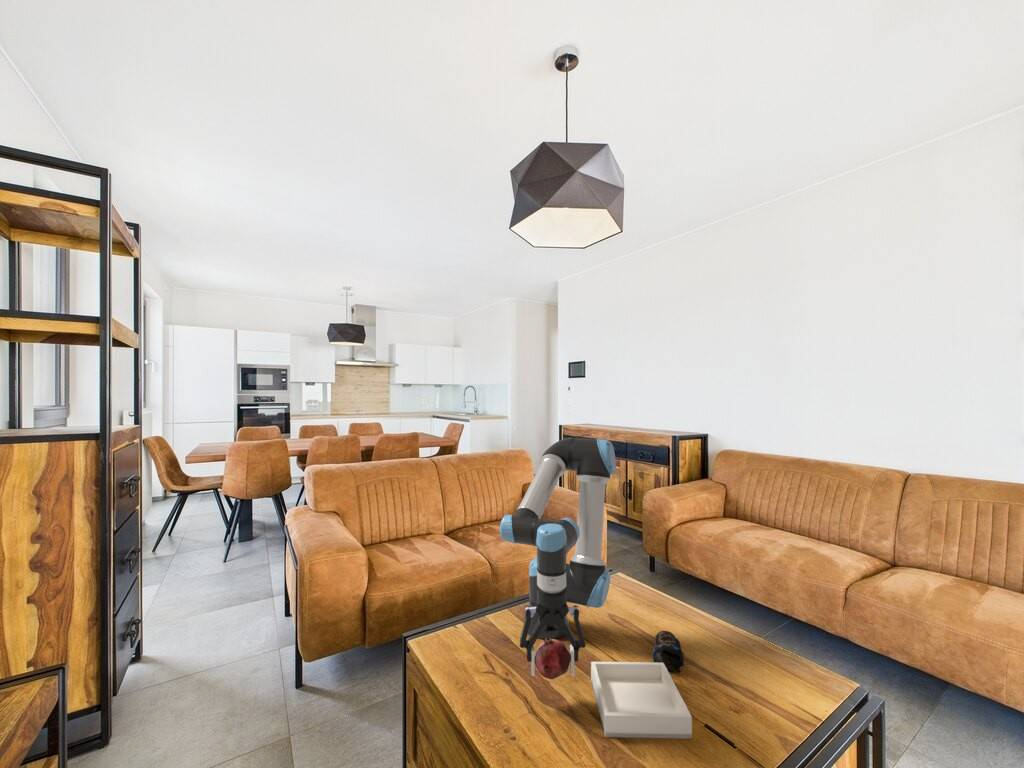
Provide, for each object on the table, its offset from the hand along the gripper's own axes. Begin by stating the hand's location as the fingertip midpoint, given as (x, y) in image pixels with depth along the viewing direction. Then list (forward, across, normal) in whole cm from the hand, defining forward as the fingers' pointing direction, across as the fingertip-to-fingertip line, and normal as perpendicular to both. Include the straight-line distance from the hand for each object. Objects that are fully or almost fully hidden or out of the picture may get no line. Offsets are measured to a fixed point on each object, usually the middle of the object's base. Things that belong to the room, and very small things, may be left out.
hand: (552, 672), depth 113 cm
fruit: (0, 0, 0) cm, 0 cm away
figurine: (+9, +36, +18) cm, 41 cm away
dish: (+8, +21, -1) cm, 23 cm away
